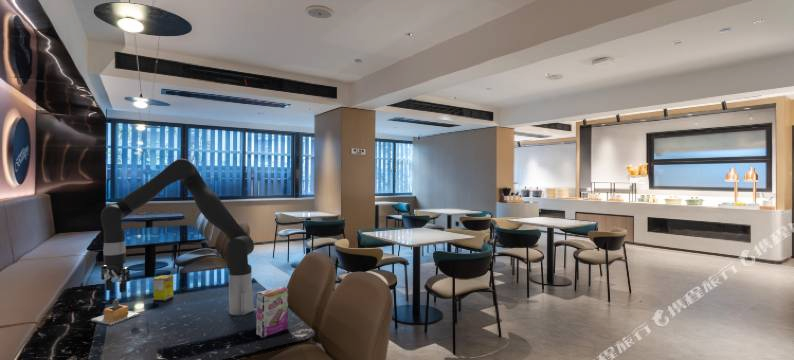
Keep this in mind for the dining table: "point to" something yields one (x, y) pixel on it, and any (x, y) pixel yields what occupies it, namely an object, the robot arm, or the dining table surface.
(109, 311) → the link
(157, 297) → the supplement box
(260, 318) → the candy bar box
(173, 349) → the dining table surface
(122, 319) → the keeper
